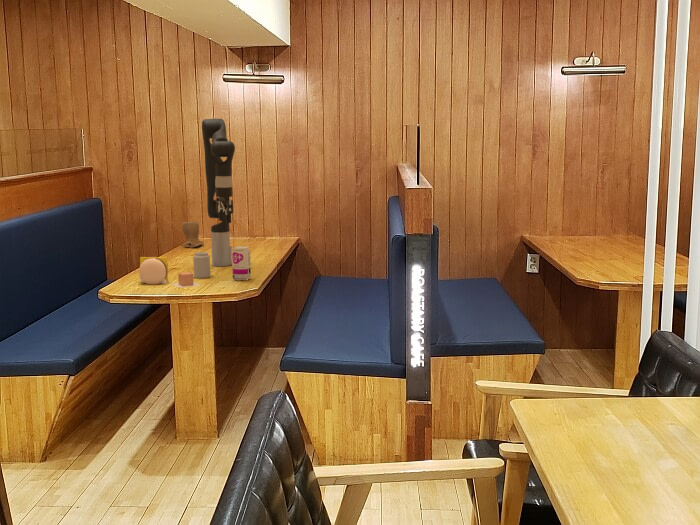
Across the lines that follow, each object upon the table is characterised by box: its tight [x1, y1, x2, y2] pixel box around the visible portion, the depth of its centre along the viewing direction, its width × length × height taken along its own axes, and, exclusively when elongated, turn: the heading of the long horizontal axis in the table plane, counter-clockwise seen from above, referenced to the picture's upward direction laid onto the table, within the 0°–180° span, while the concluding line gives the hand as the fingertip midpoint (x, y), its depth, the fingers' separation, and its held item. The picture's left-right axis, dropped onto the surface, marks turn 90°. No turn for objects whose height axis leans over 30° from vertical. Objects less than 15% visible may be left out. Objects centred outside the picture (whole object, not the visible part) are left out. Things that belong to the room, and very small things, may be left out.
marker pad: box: [171, 281, 201, 289], centre depth 348 cm, size 10×10×1 cm
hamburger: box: [138, 256, 169, 285], centre depth 351 cm, size 12×8×12 cm
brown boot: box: [181, 220, 205, 249], centre depth 459 cm, size 15×12×15 cm
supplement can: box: [232, 245, 252, 281], centre depth 361 cm, size 8×8×15 cm
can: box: [192, 251, 211, 279], centre depth 365 cm, size 8×8×12 cm
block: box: [177, 271, 194, 286], centre depth 348 cm, size 5×5×5 cm
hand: (224, 221), depth 354 cm, fingers open, 8 cm apart
